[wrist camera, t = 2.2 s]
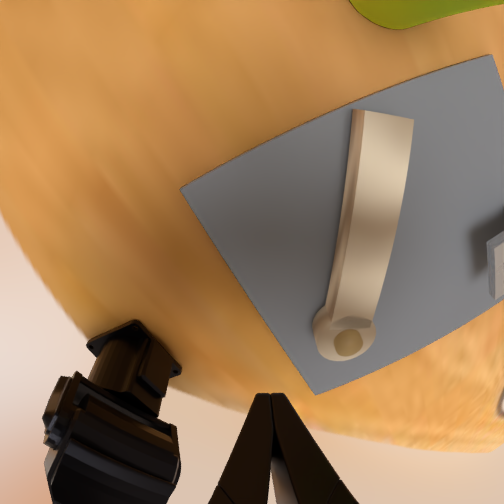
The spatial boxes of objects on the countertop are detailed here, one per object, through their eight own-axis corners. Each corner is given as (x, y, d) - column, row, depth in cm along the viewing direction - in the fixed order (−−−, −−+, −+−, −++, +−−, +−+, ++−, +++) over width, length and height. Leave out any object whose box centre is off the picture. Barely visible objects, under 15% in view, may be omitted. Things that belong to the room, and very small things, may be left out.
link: (359, 340, 24) (369, 365, 22) (307, 342, 24) (313, 369, 22) (406, 118, 16) (430, 123, 14) (340, 106, 16) (356, 109, 14)
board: (314, 391, 28) (315, 395, 28) (181, 187, 19) (179, 189, 19) (520, 282, 23) (523, 285, 23) (488, 54, 14) (492, 54, 14)
